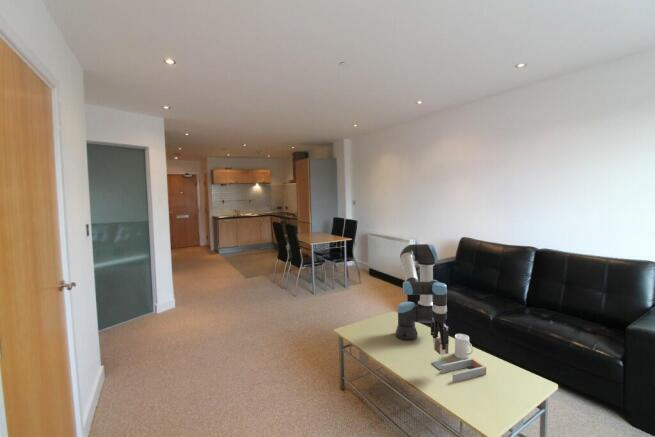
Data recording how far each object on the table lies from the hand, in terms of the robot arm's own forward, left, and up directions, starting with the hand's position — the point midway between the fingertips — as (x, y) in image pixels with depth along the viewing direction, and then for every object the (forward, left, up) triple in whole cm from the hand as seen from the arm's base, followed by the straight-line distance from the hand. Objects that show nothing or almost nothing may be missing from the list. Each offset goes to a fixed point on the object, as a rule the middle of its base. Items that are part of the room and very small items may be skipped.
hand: (439, 351), depth 175 cm
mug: (-9, +25, -12) cm, 29 cm away
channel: (+5, +12, -12) cm, 17 cm away
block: (0, +1, 0) cm, 1 cm away
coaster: (-6, +6, -12) cm, 14 cm away
